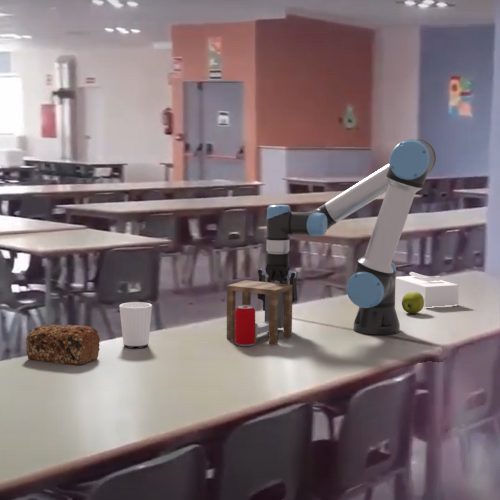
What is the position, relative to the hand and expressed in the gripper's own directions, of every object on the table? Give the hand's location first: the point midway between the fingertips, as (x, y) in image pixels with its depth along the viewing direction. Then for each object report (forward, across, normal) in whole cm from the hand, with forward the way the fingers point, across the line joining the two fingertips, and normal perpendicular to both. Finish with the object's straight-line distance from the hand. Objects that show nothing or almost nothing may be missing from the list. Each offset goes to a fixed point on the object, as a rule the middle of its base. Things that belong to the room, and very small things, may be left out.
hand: (276, 321), depth 303 cm
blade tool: (+1, 0, +9) cm, 9 cm away
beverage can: (+3, -1, +23) cm, 23 cm away
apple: (+3, -29, -52) cm, 59 cm away
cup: (+3, +27, +42) cm, 50 cm away
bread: (+3, +35, +65) cm, 74 cm away
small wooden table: (+3, 0, +12) cm, 13 cm away
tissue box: (+4, -25, -76) cm, 80 cm away
